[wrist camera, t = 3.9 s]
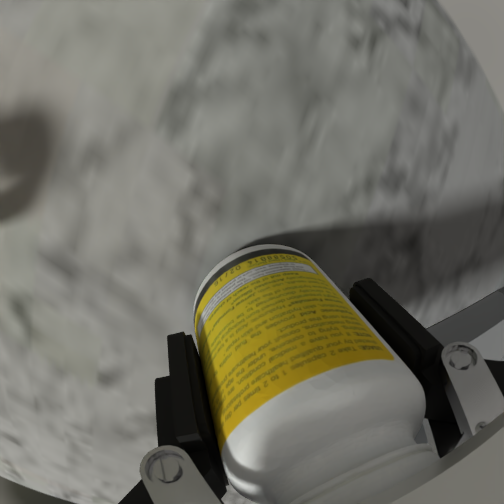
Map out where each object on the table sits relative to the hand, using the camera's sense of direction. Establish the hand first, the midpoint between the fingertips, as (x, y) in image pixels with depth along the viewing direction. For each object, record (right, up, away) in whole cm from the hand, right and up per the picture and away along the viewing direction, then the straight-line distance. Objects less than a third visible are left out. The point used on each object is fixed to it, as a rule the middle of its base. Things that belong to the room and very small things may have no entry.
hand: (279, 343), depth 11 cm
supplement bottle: (-1, +1, +2) cm, 3 cm away
